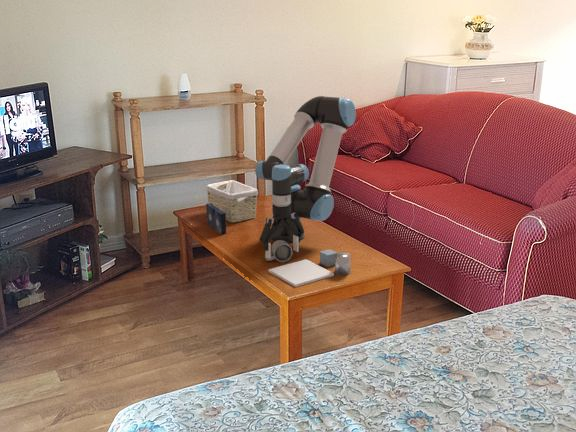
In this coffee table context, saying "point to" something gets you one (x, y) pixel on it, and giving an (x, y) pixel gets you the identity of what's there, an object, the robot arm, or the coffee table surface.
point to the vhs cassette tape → (216, 218)
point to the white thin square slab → (301, 272)
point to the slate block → (327, 257)
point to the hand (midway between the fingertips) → (282, 254)
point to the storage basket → (233, 200)
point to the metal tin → (342, 263)
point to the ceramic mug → (280, 251)
